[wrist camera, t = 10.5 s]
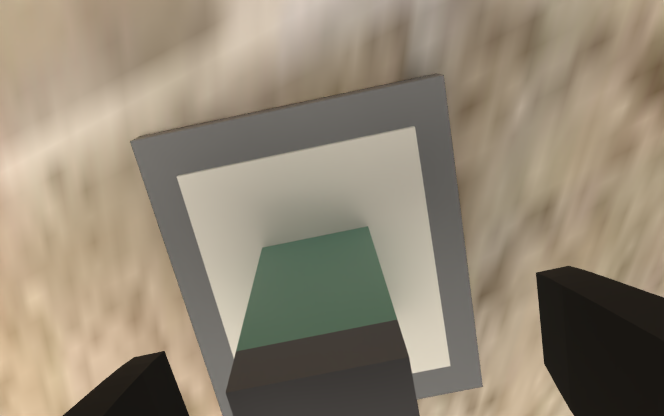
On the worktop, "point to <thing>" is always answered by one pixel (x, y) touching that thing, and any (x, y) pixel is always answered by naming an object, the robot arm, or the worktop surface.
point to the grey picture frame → (321, 215)
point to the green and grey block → (321, 334)
